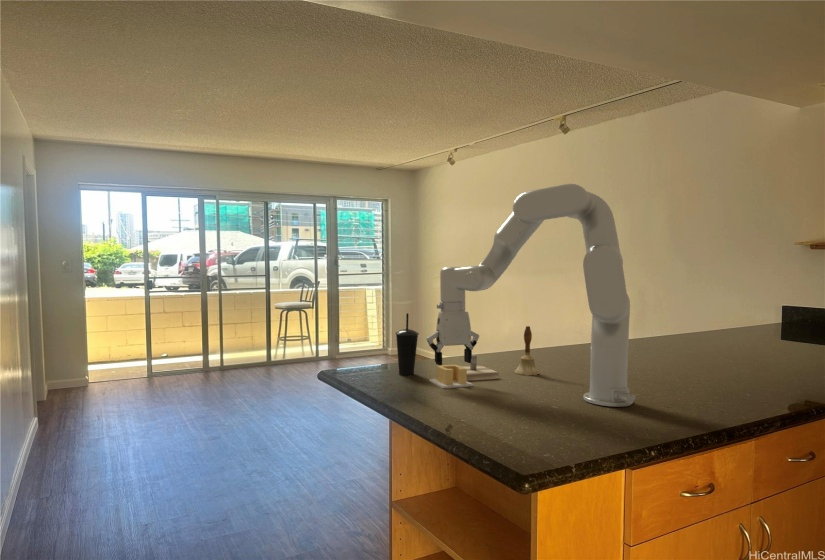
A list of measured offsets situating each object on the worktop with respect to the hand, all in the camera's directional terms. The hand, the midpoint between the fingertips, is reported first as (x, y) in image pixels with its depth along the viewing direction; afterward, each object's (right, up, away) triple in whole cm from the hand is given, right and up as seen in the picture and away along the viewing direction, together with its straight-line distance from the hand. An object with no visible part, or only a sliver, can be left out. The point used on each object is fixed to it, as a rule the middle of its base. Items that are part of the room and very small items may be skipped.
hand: (453, 363), depth 164 cm
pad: (-1, -6, +1) cm, 6 cm away
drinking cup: (-15, -6, +13) cm, 21 cm away
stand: (+7, -6, +12) cm, 16 cm away
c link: (-1, -6, 0) cm, 6 cm away
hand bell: (+26, -6, +19) cm, 33 cm away
